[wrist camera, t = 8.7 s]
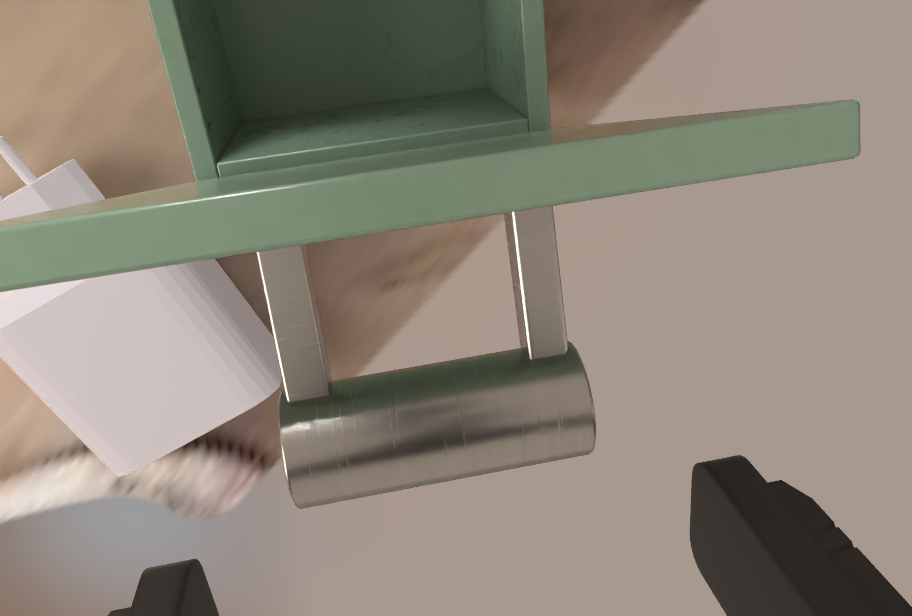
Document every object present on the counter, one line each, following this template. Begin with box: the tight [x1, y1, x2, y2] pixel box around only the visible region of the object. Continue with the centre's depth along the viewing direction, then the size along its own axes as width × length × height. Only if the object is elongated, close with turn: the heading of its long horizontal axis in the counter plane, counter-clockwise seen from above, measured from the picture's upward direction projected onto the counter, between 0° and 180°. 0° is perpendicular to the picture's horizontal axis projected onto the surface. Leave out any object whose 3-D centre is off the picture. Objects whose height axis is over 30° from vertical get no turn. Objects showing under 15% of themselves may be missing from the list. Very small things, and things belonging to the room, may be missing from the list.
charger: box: [0, 136, 282, 477], centre depth 33 cm, size 5×9×15 cm
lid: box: [0, 100, 860, 509], centre depth 18 cm, size 16×13×5 cm
